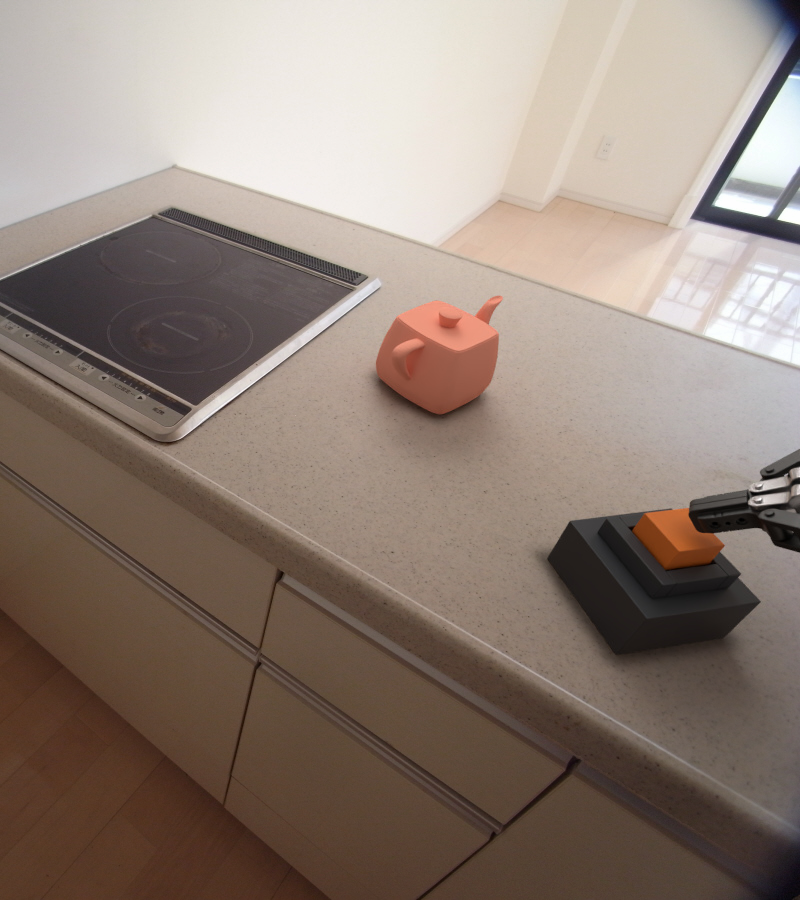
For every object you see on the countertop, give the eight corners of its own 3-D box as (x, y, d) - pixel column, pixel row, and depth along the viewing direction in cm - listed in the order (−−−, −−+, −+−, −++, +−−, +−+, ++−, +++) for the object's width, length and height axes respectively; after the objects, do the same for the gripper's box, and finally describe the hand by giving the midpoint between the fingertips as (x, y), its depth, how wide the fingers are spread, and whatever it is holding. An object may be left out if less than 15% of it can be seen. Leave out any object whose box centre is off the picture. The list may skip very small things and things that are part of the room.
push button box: (724, 638, 53) (776, 587, 49) (615, 655, 52) (659, 605, 47) (643, 545, 61) (682, 493, 56) (546, 558, 59) (578, 506, 55)
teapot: (346, 385, 79) (362, 309, 72) (442, 341, 87) (465, 269, 80) (418, 436, 72) (444, 358, 65) (516, 384, 80) (548, 309, 73)
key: (709, 564, 51) (726, 545, 49) (664, 570, 50) (679, 551, 49) (673, 526, 54) (688, 507, 52) (630, 532, 53) (644, 512, 52)
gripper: (1005, 355, 40) (678, 432, 53) (1069, 477, 31) (662, 533, 45) (1044, 451, 41) (717, 504, 54) (1115, 593, 33) (708, 614, 46)
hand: (693, 517), depth 49 cm, fingers closed
